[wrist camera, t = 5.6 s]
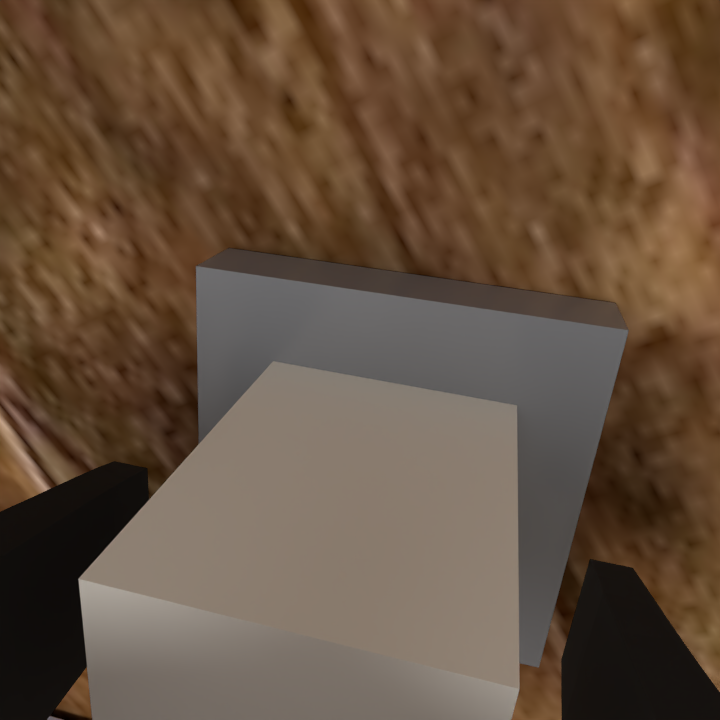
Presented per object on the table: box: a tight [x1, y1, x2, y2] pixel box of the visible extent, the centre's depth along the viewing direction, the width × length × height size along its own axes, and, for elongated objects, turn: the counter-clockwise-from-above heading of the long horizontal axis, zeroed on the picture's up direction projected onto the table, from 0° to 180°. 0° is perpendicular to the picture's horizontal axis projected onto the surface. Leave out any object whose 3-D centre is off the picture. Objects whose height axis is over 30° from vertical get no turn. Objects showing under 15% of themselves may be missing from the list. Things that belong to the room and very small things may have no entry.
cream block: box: [78, 361, 520, 720], centre depth 10 cm, size 4×4×6 cm
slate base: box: [196, 248, 629, 668], centre depth 13 cm, size 8×8×2 cm
